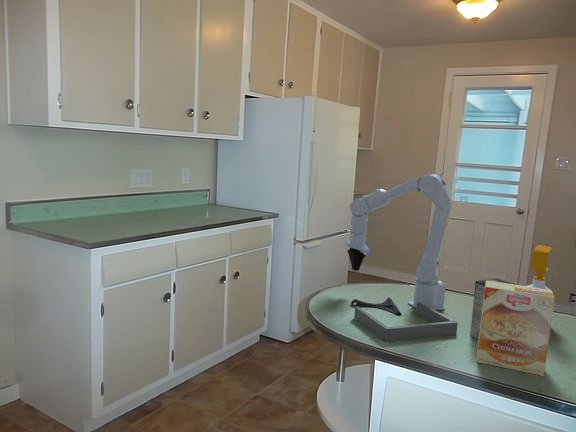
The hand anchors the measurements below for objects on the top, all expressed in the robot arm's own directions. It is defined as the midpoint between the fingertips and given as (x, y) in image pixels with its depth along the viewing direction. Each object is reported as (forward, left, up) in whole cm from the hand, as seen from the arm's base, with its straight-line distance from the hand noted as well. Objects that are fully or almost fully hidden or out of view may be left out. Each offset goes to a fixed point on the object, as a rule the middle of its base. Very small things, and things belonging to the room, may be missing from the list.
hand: (355, 270), depth 163 cm
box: (0, +31, -8) cm, 32 cm away
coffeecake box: (-12, +59, -9) cm, 61 cm away
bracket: (0, +14, -9) cm, 17 cm away
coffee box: (-20, +44, -9) cm, 49 cm away
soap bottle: (-42, +39, -9) cm, 58 cm away
